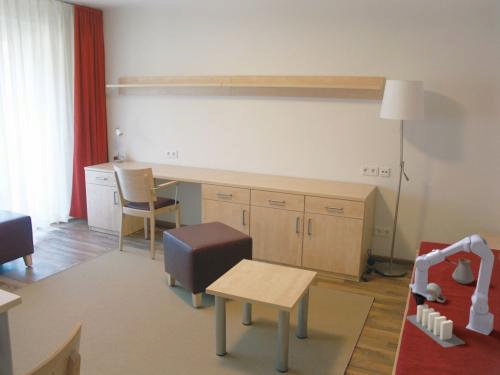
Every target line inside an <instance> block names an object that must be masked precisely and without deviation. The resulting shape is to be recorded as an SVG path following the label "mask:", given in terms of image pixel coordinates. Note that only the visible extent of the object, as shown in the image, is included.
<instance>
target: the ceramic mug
mask: <svg viewBox="0 0 500 375" xmlns="http://www.w3.org/2000/svg"><path fill="white" fill-rule="evenodd" d="M427 291H428V292H429V293H430V295H432V300H427V299H426V300H425V301H429V302H435V301H436V302H439V303H440V304H443V303H445V302H446V297H445V296H444V295H443V294H442V289H441V287H440V286H439V285H438V284H437V283H435V282H430V283H427ZM439 297H440V298H441V299H440V298H439Z"/></svg>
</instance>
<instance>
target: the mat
mask: <svg viewBox="0 0 500 375" xmlns="http://www.w3.org/2000/svg"><path fill="white" fill-rule="evenodd" d="M404 318H405V319H406V320H408V321H409V322H410V323H412V325H414V326H416V327H417V328H418V329H419V330H421V331H422V332H423V333H424V334H426V335H427V336H428V337H430V338H431V339H432V340H434V342H436V343H437V344H439V345H440V346H442V347H443V348H444V349H445V348H450V347H454V346H458V345H463V344H466V342H465V341H463V340H462V339H461V338H459V337H457V336H456V335H455V334H454V333H452V338H450V339H445V340H441V339H440V335H434V334H433V333H434V330H432V331H429V330H428V326H425V327H424V326H423V325H422V322H417V314H411V315H406V316H404Z"/></svg>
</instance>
